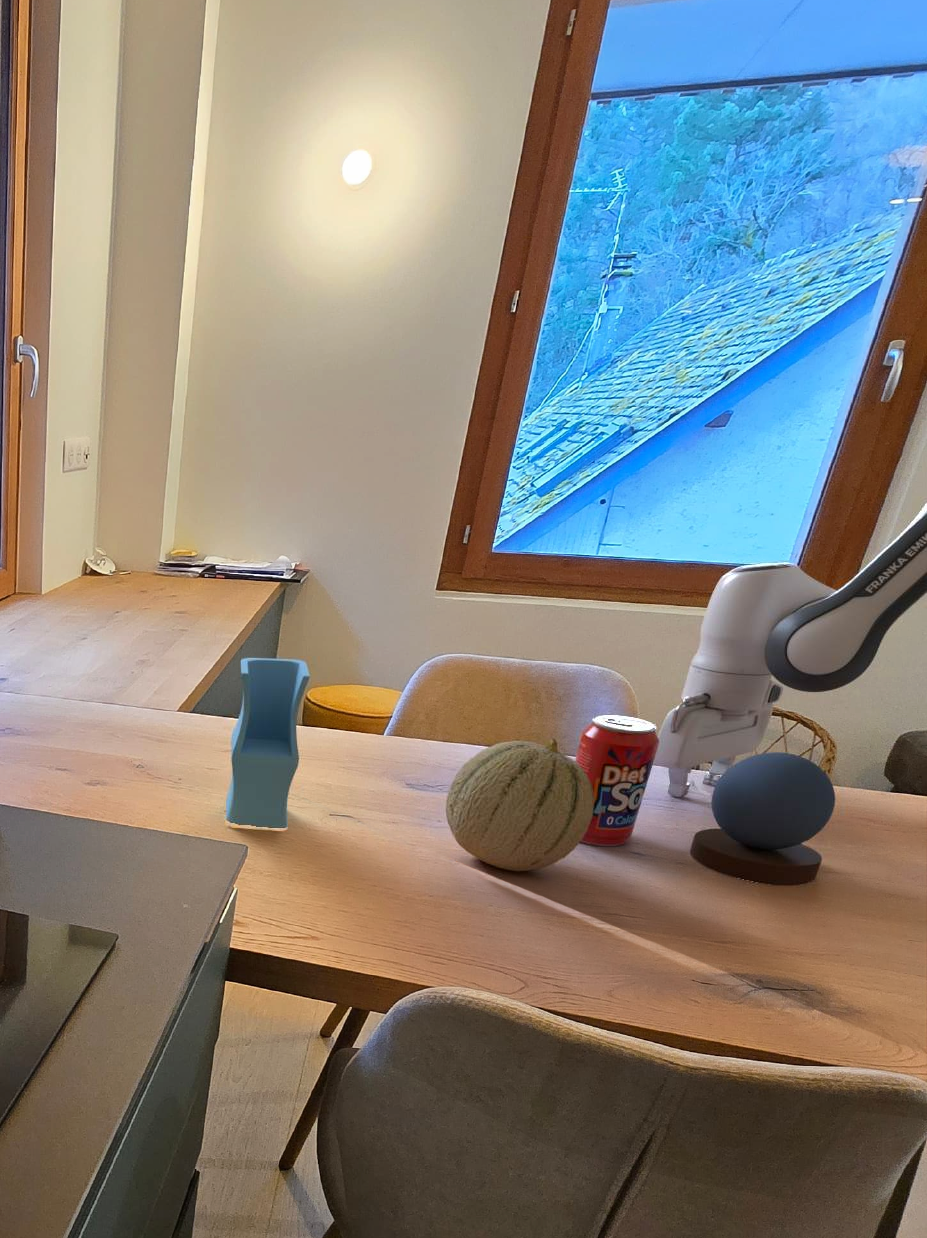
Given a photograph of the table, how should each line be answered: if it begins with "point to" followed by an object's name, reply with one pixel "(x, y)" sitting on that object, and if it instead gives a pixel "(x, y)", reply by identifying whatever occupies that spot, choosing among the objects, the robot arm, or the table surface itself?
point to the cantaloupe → (520, 805)
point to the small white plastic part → (696, 788)
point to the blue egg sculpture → (767, 820)
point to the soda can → (616, 774)
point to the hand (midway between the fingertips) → (694, 790)
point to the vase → (265, 741)
